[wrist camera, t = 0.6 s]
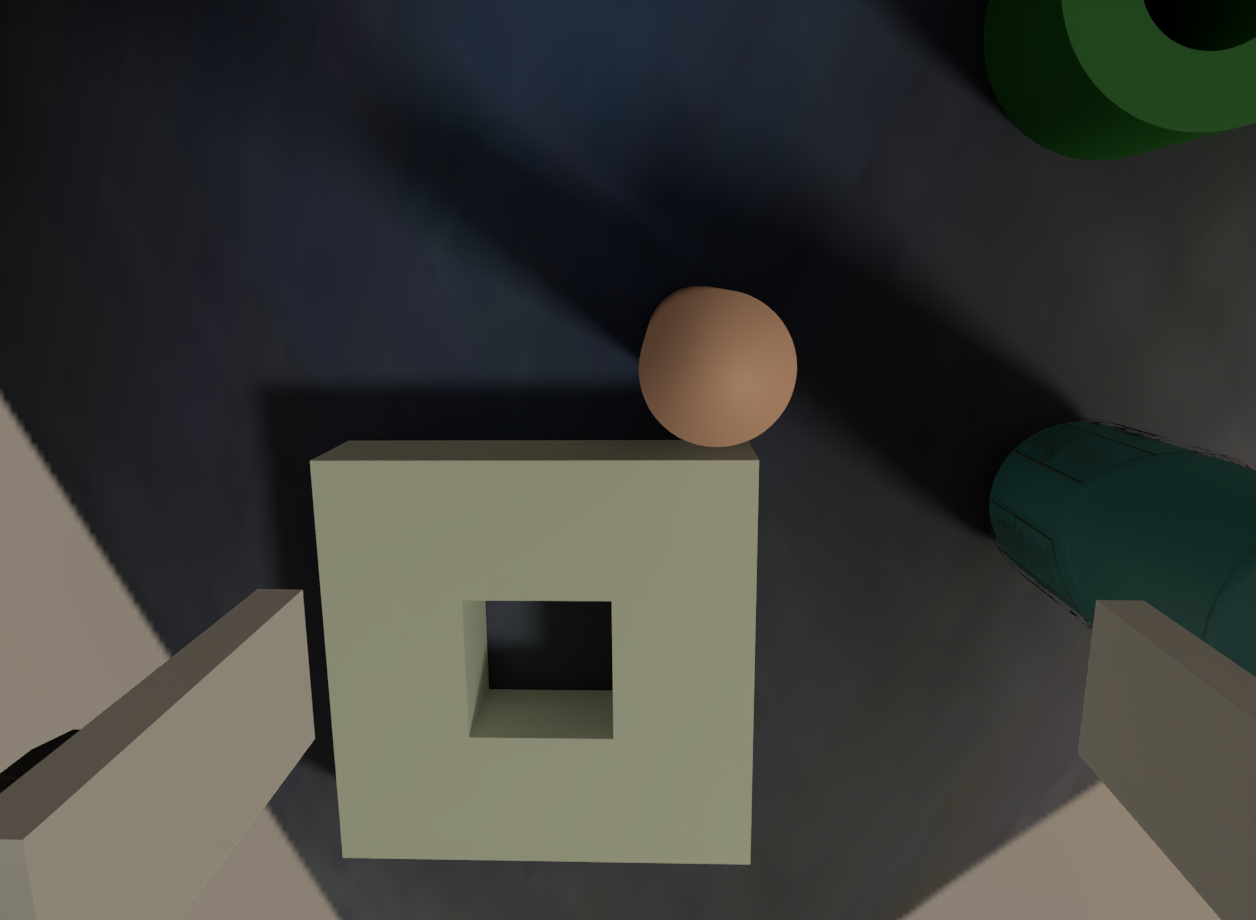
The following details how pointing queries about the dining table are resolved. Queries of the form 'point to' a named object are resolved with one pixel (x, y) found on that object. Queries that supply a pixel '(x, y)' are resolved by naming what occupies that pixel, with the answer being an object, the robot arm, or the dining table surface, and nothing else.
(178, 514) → the dining table surface
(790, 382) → the peg
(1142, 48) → the slotted cylinder bracket
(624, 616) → the socket board
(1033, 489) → the beverage bottle
